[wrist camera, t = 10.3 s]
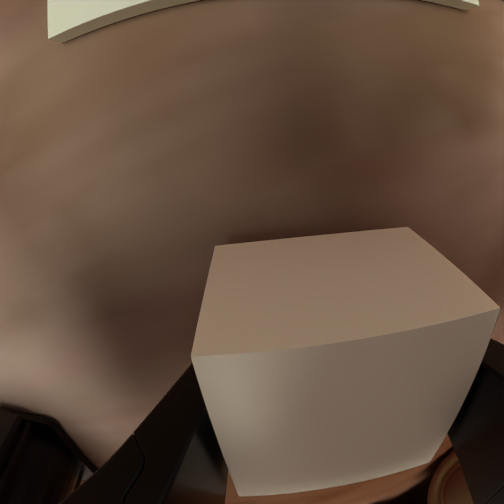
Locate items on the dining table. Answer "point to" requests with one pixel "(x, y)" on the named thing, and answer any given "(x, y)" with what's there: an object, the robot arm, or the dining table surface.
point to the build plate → (129, 13)
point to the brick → (335, 356)
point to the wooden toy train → (449, 483)
